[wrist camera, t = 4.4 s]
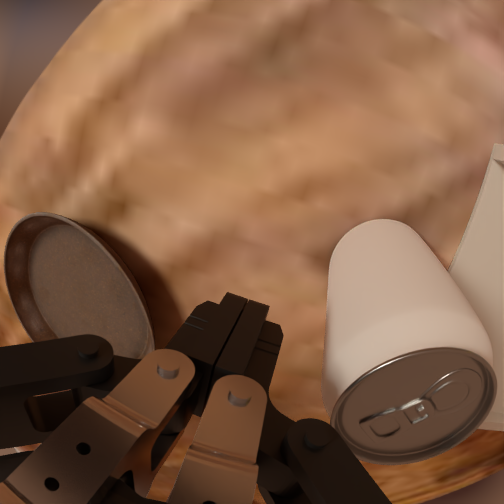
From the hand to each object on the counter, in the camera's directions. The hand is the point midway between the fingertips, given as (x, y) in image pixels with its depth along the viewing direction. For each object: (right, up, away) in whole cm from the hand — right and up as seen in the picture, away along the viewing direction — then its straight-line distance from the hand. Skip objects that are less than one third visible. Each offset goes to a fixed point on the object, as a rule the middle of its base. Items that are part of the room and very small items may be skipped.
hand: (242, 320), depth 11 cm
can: (+8, +1, +8) cm, 12 cm away
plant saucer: (-15, -2, +15) cm, 21 cm away
